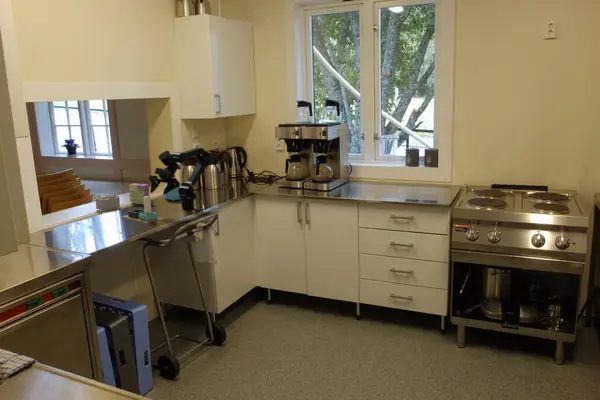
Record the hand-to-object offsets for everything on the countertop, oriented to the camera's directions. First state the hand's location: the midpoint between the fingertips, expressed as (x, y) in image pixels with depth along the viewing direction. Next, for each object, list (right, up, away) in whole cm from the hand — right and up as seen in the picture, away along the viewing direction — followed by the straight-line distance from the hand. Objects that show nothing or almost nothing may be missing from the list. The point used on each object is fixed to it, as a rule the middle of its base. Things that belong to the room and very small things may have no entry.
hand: (157, 193), depth 280 cm
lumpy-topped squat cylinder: (-34, -9, +21) cm, 41 cm away
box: (-22, -6, +38) cm, 44 cm away
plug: (-4, -14, -4) cm, 15 cm away
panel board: (-8, -14, -1) cm, 16 cm away
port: (-4, -14, -4) cm, 15 cm away
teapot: (-2, -3, +51) cm, 51 cm away
